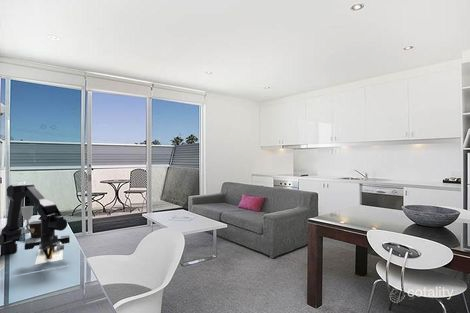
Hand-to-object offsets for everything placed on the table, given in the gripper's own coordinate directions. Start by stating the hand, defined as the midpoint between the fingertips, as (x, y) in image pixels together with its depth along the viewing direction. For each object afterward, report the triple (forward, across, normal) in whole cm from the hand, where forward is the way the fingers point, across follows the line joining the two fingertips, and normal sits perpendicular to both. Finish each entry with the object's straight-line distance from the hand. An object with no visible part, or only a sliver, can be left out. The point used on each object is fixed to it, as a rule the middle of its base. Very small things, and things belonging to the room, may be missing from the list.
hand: (48, 258), depth 136 cm
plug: (+1, 0, +10) cm, 10 cm away
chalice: (+2, -16, +71) cm, 73 cm away
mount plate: (+1, 0, +16) cm, 16 cm away
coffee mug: (+2, -10, +55) cm, 56 cm away
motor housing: (+1, 0, +17) cm, 17 cm away
